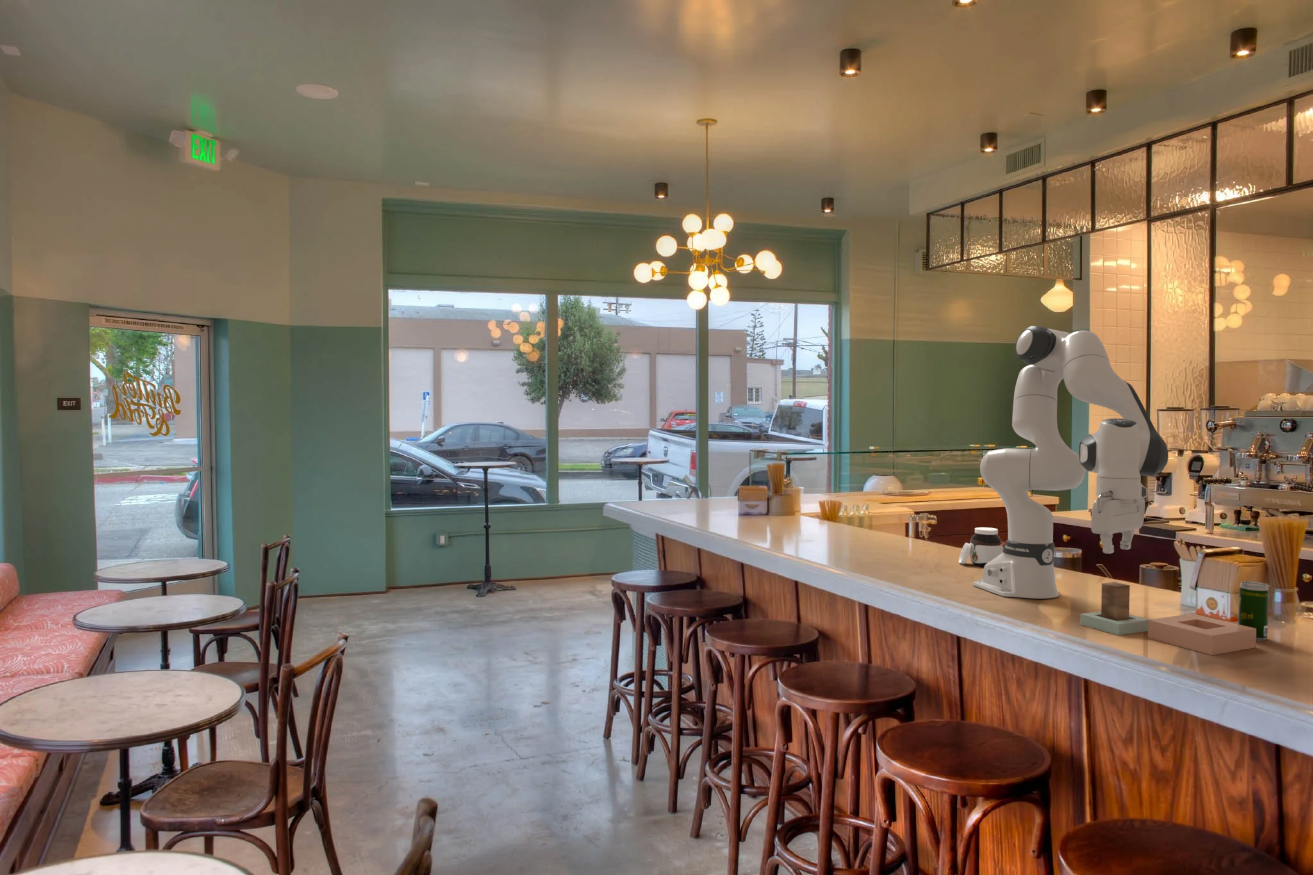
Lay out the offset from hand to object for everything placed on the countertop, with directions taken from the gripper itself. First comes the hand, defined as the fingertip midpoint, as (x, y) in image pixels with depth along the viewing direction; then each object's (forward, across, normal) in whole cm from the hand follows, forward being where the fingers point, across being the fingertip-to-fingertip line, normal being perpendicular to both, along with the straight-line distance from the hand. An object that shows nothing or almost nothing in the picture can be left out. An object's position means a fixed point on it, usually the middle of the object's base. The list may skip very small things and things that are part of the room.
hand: (1116, 551), depth 195 cm
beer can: (+18, +14, -23) cm, 32 cm away
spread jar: (+17, +48, +60) cm, 79 cm away
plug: (+18, 0, 0) cm, 18 cm away
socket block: (+18, +2, -17) cm, 24 cm away
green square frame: (+18, 0, 0) cm, 18 cm away
